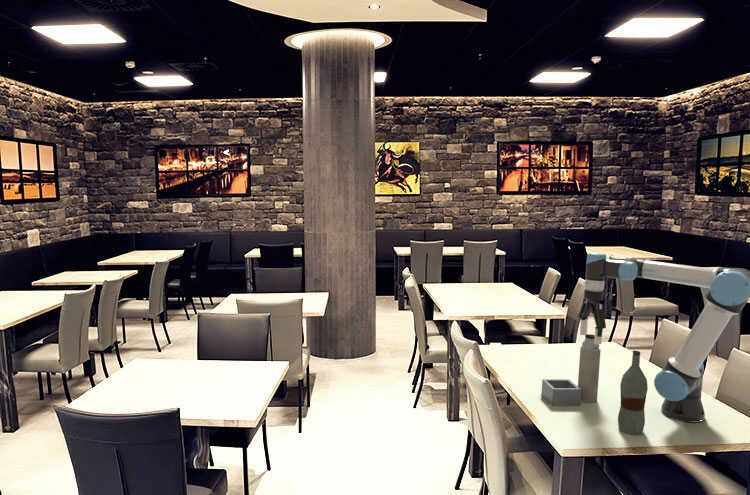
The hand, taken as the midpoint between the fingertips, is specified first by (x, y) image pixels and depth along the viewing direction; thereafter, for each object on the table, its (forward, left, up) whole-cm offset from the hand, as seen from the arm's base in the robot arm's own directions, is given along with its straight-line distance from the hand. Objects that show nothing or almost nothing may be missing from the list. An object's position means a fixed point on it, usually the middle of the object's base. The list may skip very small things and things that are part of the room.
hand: (590, 339), depth 229 cm
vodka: (-30, -3, -26) cm, 40 cm away
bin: (-1, +12, -26) cm, 29 cm away
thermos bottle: (0, 0, -26) cm, 26 cm away
